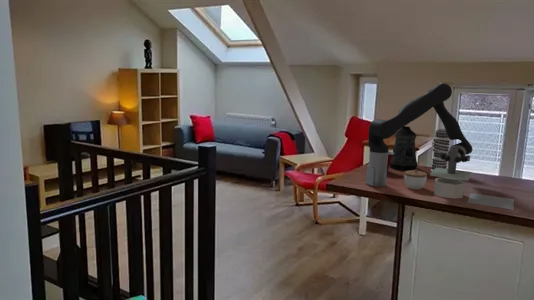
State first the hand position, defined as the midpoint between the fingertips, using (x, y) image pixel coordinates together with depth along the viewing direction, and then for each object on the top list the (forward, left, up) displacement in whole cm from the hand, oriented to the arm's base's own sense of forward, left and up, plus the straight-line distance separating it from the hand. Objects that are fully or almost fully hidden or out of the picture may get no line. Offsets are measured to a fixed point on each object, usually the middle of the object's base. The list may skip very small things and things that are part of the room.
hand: (452, 159), depth 195 cm
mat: (+13, -12, -18) cm, 25 cm away
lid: (+2, +2, -7) cm, 8 cm away
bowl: (+2, +2, -18) cm, 18 cm away
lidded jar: (-4, +18, -18) cm, 26 cm away
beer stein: (+21, +59, -18) cm, 65 cm away
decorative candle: (+36, +44, -18) cm, 60 cm away
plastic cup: (+3, +53, -18) cm, 56 cm away
